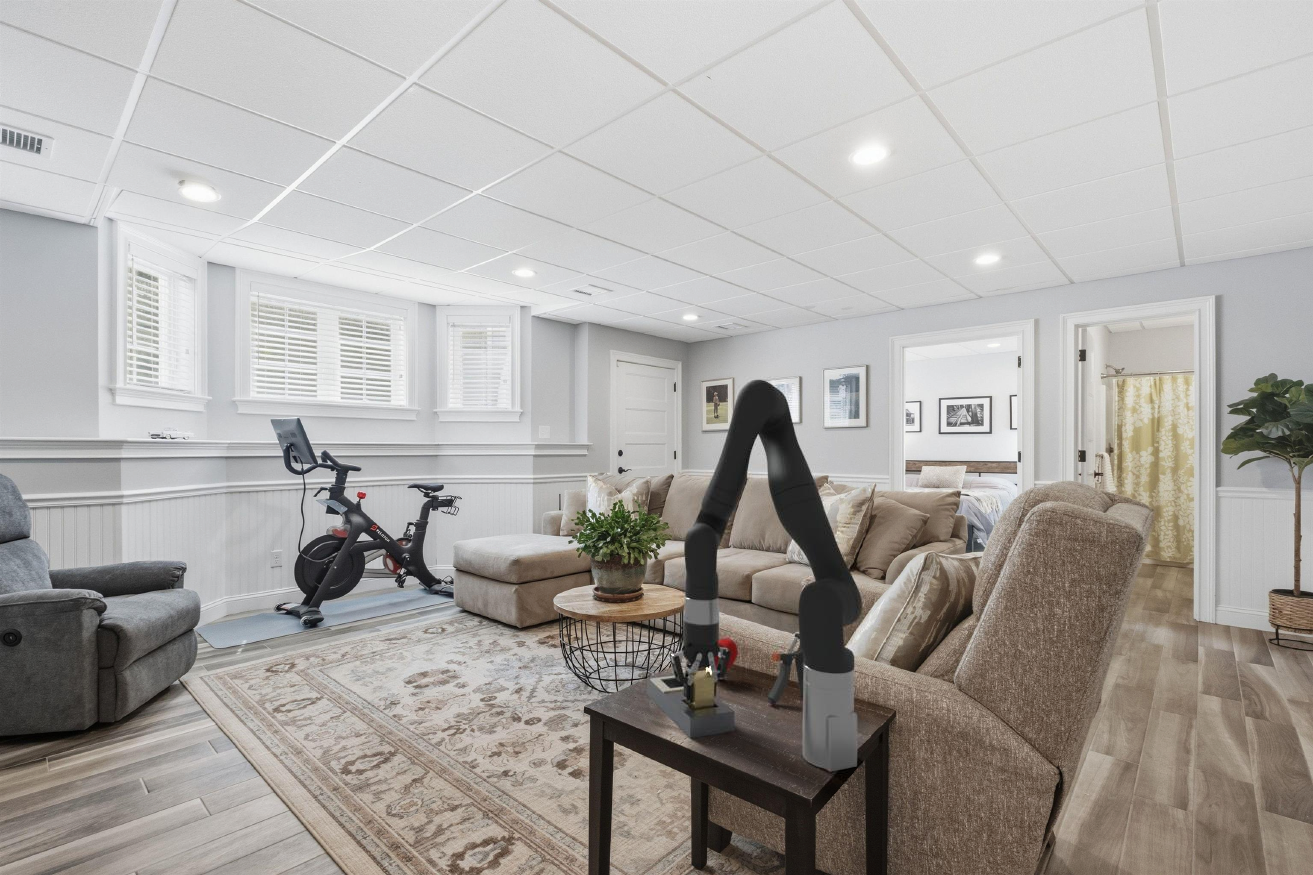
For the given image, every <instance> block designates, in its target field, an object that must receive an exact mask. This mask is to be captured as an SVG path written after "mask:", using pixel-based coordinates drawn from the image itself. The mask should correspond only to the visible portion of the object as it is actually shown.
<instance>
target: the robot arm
mask: <svg viewBox="0 0 1313 875" xmlns="http://www.w3.org/2000/svg"><path fill="white" fill-rule="evenodd" d="M734 404H735V405H734V407H733V408H734V409H733V411H732V416H731V420H730V422H729V423H730V424H729V426H728V427H729V428H728V431H727V434H726V437H725V442H724V445H723V448H722V451H721V454H720V457H719V459H718V462H717V465H716V467H715V470H714V472H713V475H712V477H711V479H710V481H709V484H708V486H707V489H706V491H705V493H704V495H703V498H702V502H701V507H700V510H699V512H698V515H697V517H696V519H695V521H694V523H693V525H692V527H691V528H690V529H689V530H688V531H687V533H686V534H685V538H684V545H683V546H684V550H683V551H684V552H683V553H684V562H685V571H686V573H685V591H684V592H685V596H684V598H685V599H684V605H683V634H682V635H683V636H682V637H683V645H682V647H681V650H679V651H677V652H673V651H672V652H670V653H669V658H670V663H671V664H670V665H671V668H672V671H673V674H674V675H675V678H676V679H677V680H678V681H679V682H680V683H684V693H683V696H684V698H685V699H686V701H688V702H689V703H692V702H693V685H692V683H693V678H694V676H695V675H696V674H697V671H699V669H701V668H704V670H705V671H706V672H707V673H709V674H711V676H713V677H714V697H715V696H716V697H717V683H718V681H719V680H718V679H720V678H724V677H725V675H726V674H727V671H728V669H729V668H728V664H729V660H730V657H731V651H730V650H729V649H727V648H725V647H722V648H721V647H720V646H719V644H718V641H719V640H720V603H719V581H720V580H719V574H718V572H717V567H718V566H717V562H718V549H719V547H720V545H721V543H722V541H723V540H722V539H723V537H724V535H725V532H726V529H727V526H728V523H729V520H730V518H731V516H732V515H733V513H734V511H735V509H736V506H737V505H738V502H739V500H740V498H741V495H742V493H743V490H744V489H745V488H744V487H745V485H746V481H747V476H748V471H749V464H750V460H751V455H752V450H753V447H754V445H755V442H756V439H757V437H759V439H760V441H761V444H762V447H763V449H764V453H765V456H766V464H767V482H768V489H769V494H770V496H771V500H772V503H773V506H774V509H775V511H776V515H777V518H778V520H779V523H780V524H781V525H782V527H783V529H784V530H785V531H786V533H788V535H789V537H790V538H791V539H792V540H793V541H794V542H795V543H796V545H797V546H798V547H799V548H800V550H801V551H802V553H803V555H805V557H806V560H807V562H808V563H809V566H810V568H811V573H812V574H813V577H814V580H815V581H811V582H810V583H808V584H807V585H805V586H804V588H803V589H802V590H801V592H800V595H799V600H798V632H799V633H798V634H799V640H798V642H799V645H800V647H801V650H802V652H803V656H804V673H803V697H802V757H803V759H804V760H805V761H806V762H808V763H809V764H811V765H813V766H815V767H818V768H821V769H824V770H827V771H828V772H830V773H831V772H836V771H840V770H844V769H845V770H846V769H850V768H855V767H857V766H858V714H857V713H856V712H854V711H855V709H854V708H855V654H854V652H853V650H851V649H849V648H848V647H846V646H845V641H844V640H845V639H844V638H845V637H844V627H849V626H850V625H853V624H854V623H856V622H857V621H858V620H860V619H859V618H860V617H861V614H862V612H863V600H862V595H861V592H860V589H859V588H858V585H857V584H856V582H855V580H854V577H853V575H852V574H851V571H850V569H849V567H848V564H847V563H846V561H845V558H844V557H843V555H842V552H841V550H840V547H839V545H838V543H837V540H836V537H835V534H834V530H833V529H832V526H831V523H830V522H829V518H828V515H827V513H826V510H825V507H824V503H823V501H822V497H821V494H820V493H819V489H818V487H817V485H816V484H817V483H816V481H815V479H814V476H813V474H812V471H811V469H810V466H809V464H808V462H807V460H806V457H805V455H804V453H803V450H802V449H801V446H800V444H799V441H798V438H797V434H796V430H795V427H794V422H793V418H792V415H791V409H790V407H789V406H790V405H789V402H788V400H787V397H786V396H785V394H784V393H783V392H782V391H781V390H780V389H779V388H777V387H775V386H774V385H773V384H772V383H770V382H768V381H766V380H762V379H753V380H750V381H749V382H747V383H746V384H744V385H743V386H742V388H741V389H740V390H739V392H738V395H737V397H736V400H735V403H734ZM717 655H719V659H718V663H717V667H716V666H715V662H714V660H715V658H716V656H717ZM683 657H684V659H685V660H686V661H685V664H684V665H685V666H684V671H683V667H682V663H683ZM727 668H728V669H727ZM683 673H684V674H683ZM726 676H727V675H726ZM725 678H726V677H725ZM725 678H724V679H725Z"/></svg>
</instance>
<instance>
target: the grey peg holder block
mask: <svg viewBox="0 0 1313 875" xmlns="http://www.w3.org/2000/svg"><path fill="white" fill-rule="evenodd" d="M683 674H684V672H683ZM646 681H647V682H646V695H647V696H648V697H649V698H650V699H651V700H652V701H653V702H654V703H655V704H656V706H658V707H659V709H660V710H661V711H663V713H664V714H666V716H667V717H668V718H669V719H671V721H672V722H673V723H674V724H676V726H677V727H678V728H679V729H680V730H681V731H682V732H683V733H684V734H685V735H686V736H687V737H688V738H689V739H693V738H700V737H706V736H707V737H708V736H712V735H718V734H719V735H720V734H725V733H730V732H735V714H736V712H735V710H734V709H733V708H731V707H730V706H729V705H727V704H726V703H725V702H724V701H722V700H721V699H720V698H719V697H717V695H716V696H715V697H714V708H709V709H702V710H695V711H693V710H692V709H691V708H689V707H688V706H687V705H686V699H685V698H684V696H683V693H684V683H680V682H679V681H678V680H677V679H676V678H675V675H674V673H670V674H662V675H654V676H647V678H646Z"/></svg>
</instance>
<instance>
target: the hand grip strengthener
mask: <svg viewBox="0 0 1313 875" xmlns="http://www.w3.org/2000/svg"><path fill="white" fill-rule="evenodd" d="M798 642H799V633H797V632H796V633H794V638H793V639H792V641H791V643H790V645H789V647H788V648H787V650H788V651H787V653H777V652H775V653H772V655H771V659H772V661H773V662H780V661H782V662H781V663H780V668H779V672H778V675H777V678H776V680H775V683H774V685H773V687H772V689H771V691H770V692H769V694H768V695H767V699H766V701H768V703H770V704H771V705H774V706H775V705H776V704H778V702H779V701H780V699H781V698H782V696H783V694H784V692H785V689H786V688H787V686H788V682H789V679H790V676H791V671H792V665H793V664H792V663H793V660H794V665H795V670H796V674H797V683H798V691H799V694H800V695H801V696H800V695H799V696H800V697H802V696H803V673H804V656H803V652H802V650H801V647H800V644H799V645H798V648H797V649H796V650H795V651H793V650H794V649H795V647H796V645H797V644H798Z"/></svg>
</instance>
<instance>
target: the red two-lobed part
mask: <svg viewBox="0 0 1313 875" xmlns="http://www.w3.org/2000/svg"><path fill="white" fill-rule="evenodd" d="M718 644H719V646H720V647H721V648H722V647H725V648H727V649H729V650H730V651H731V657H730V660H729V664H728V668H727V670H728V669H730V667H732V666H733V665H734V663H735V662H736V660H737V658H738V655H739V654H738V653H739V652H738V649H739V648H738V645H737V644H736V642H734V640H732V639H731V638H727V637H724V638H721V639H719V640H718ZM718 659H719V655H717V656H716V658H715V660H714V662H715V666H716V667H717V663H718ZM726 677H727V675H725V677H724V678H720V679H718V680H717V681H723V680H724V679H726Z"/></svg>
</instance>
